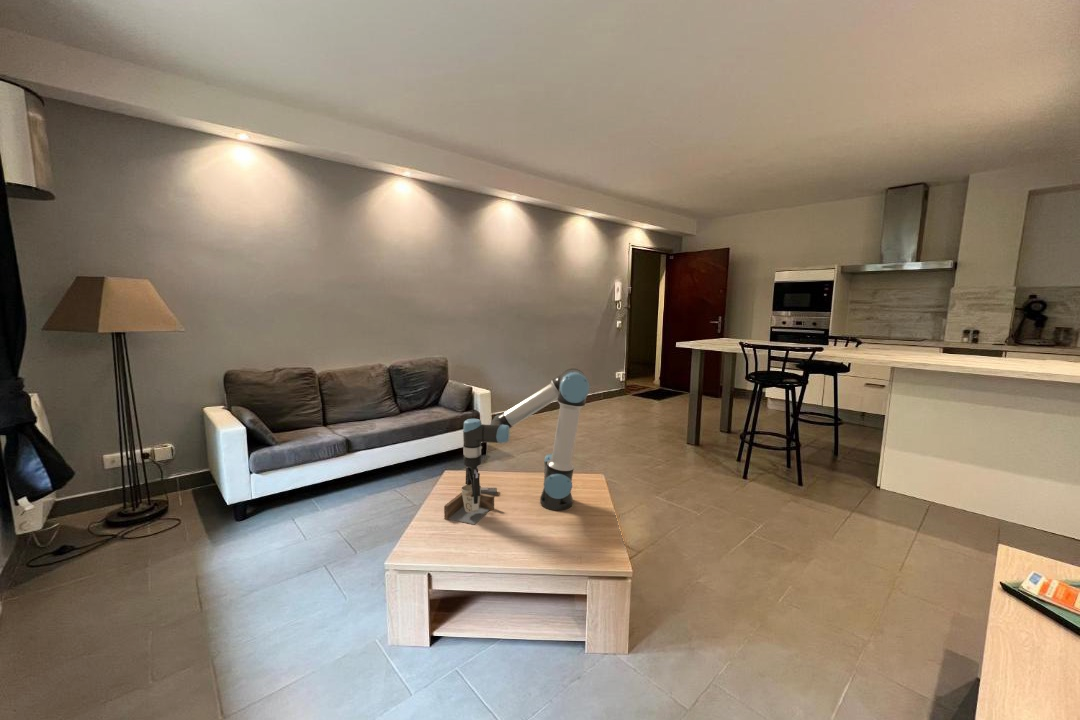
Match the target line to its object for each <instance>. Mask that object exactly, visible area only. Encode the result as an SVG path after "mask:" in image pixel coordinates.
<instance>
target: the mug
mask: <svg viewBox="0 0 1080 720" xmlns="http://www.w3.org/2000/svg"><path fill="white" fill-rule="evenodd" d="M461 492H462V496H463V502H464V508H465V511H466V512H468V513H473V512H477V511H478V510H479V504H480V496H478V510H474V511H472V497H471V495H473V494H472V484H470V485H467V484H465V485H463V486H462V487H461ZM480 493H481V485H480Z"/></svg>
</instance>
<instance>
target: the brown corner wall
mask: <svg viewBox="0 0 1080 720" xmlns="http://www.w3.org/2000/svg"><path fill="white" fill-rule="evenodd" d="M443 506H444V507H443V511H444V513H443V515H444V520H446V521H448V520H449V519H448V518H450V517H451V516H452V515H453V514H454V513H456V512H457V511H458V510H459V509H460V508H462V507H463V506H464V502H463V496H462V491H461V492H459V494H457V495H456V496H455V497H453V498H452V499H451V500H450V501H448V502H447V503H445V504H444V505H443ZM479 507H483V508H488V509H490V510H491V511H493V510H495V495H487V494H482V493H480V504H479Z"/></svg>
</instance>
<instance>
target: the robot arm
mask: <svg viewBox="0 0 1080 720" xmlns="http://www.w3.org/2000/svg"><path fill="white" fill-rule="evenodd" d="M588 380H589V379H587V377H586V375H585V374H584V373H583V372H582V371H581V370H580V369H578V368H573V367H572V368H568V369H566V370H564V371H562V372H561V373H560V374H558V375H557V376H556V377H554V378H553V379H551V381H550V383H549V384H547V385H546V386H544V387H542V388H541V389H539V390H538V391H536V392H535V393H533V394H531V395H530V396H528V397H526V398H524V399H523V400H522V401H521V402H518V403H517V404H516V405H514V406H512V407H510V408H509V409H507V410H505V411H504V412H503V413H501V414H497V415H495V416H494V417H493V418H492V420H491V422H490V424H484V423H482V420H481V419H478V418H468V419H466V420H464V421H463V429H462V437H463V440H462V441H463V448H462V449H463V465H464V466H465V485H470V484H472V494H473V495H471V497H472V511H474V510H478V496H480V486H481V484H480V483H481V482H480V480H481V479H480V477H481V476H480V475H481V473H480V472H479V469H478V466H480V465H481V464H482V449H483V446H482V443H490V444H491V443H492V444H496V443H498V444H502V443H503V444H505V443H509V441H510V434H511V433H510V430H511V428H513V427H515V426H516V425H517V424H519V423H521V422H522V421H524V420H526V419H527V418H529V417H530V416H532V415H533V414H536V413H537V412H539V411H540V410H542V409H544V408H545V407H547V406H549V405H550V404H552V403H553V402H555V401H557V403H558V404H559V412H558V417H557V423H556V429H555V433H554V434H555V436H554V441H553V448H552V453H550V454H546V455H545V456H544V461H543V462H544V465H543V467H544V470H543V473H544V475H543V477H544V478H543V489H542V491H541V495H540V499H539V500H540V502H539V503H540V504H539V505H540V506H541V507H543V508H545V509H546V510H549V511H550V510H551V511H564V510H565V511H566V510H568V509H570V508H571V507H572V506H573V503H574V500H573V494H572V488H573V482H572V481H573V475H574V470H575V469H574V468H575V465H574V464H573V463H572V461H573V460H572V459H573V454H574V447H575V443H576V442H575V441H576V437H577V433H578V432H577V431H578V425H579V420H580V419H579V418H580V413H581V409H582V408H584V407H585V405H586V400H587V396H589V395H588V394H589V392H590V383H589V381H588Z"/></svg>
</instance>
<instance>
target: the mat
mask: <svg viewBox="0 0 1080 720" xmlns="http://www.w3.org/2000/svg"><path fill="white" fill-rule="evenodd" d="M490 510H491V509H488V508H483V507H479V510H478V511H477V512H473V513H468V512H466V511H465V508H464V506H463V507H462V508H460V509H459V510H458V511H457V512H456V513H454V514H453V515H452V516H451V517H450V518H448V520H450V521H454V522H459V523H462V524H463V523H465V524H469V525H473V526H474V525H476V524H477V523H478V522H479V521H480V520H482V518H483V517H484V516H485V515H486V514H487V513H488V512H489V511H490Z"/></svg>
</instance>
